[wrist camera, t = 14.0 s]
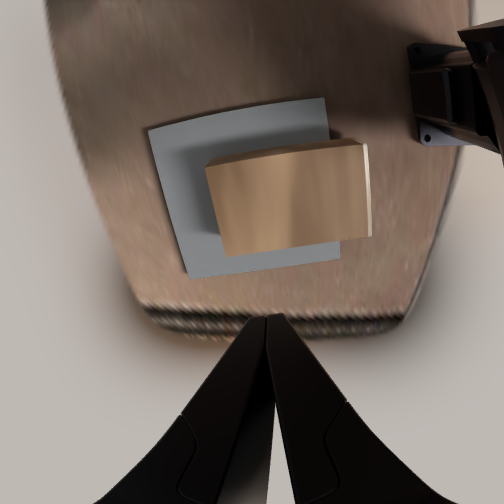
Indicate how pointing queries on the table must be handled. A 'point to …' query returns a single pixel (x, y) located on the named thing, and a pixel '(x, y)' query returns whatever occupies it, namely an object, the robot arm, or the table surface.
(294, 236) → the slab
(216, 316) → the table surface
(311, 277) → the table surface
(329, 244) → the mat
